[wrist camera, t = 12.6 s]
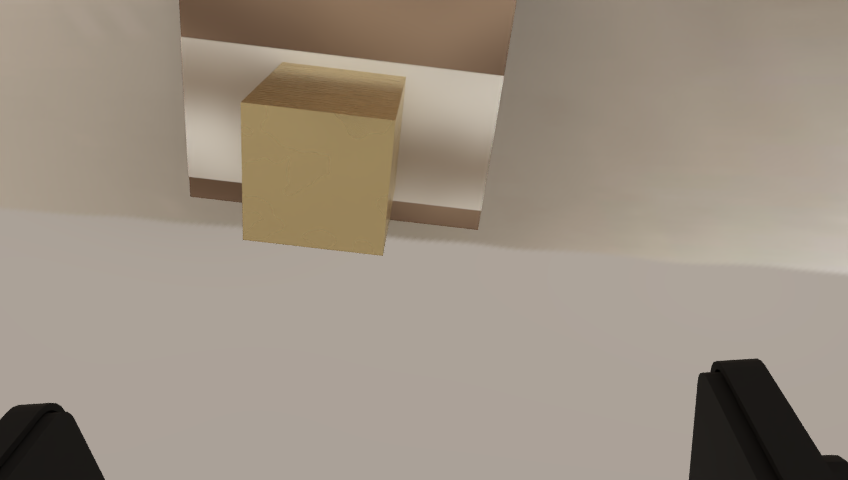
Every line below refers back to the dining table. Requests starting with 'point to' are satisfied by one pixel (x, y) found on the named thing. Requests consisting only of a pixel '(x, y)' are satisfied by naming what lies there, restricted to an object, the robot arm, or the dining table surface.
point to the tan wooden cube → (321, 157)
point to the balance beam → (359, 51)
